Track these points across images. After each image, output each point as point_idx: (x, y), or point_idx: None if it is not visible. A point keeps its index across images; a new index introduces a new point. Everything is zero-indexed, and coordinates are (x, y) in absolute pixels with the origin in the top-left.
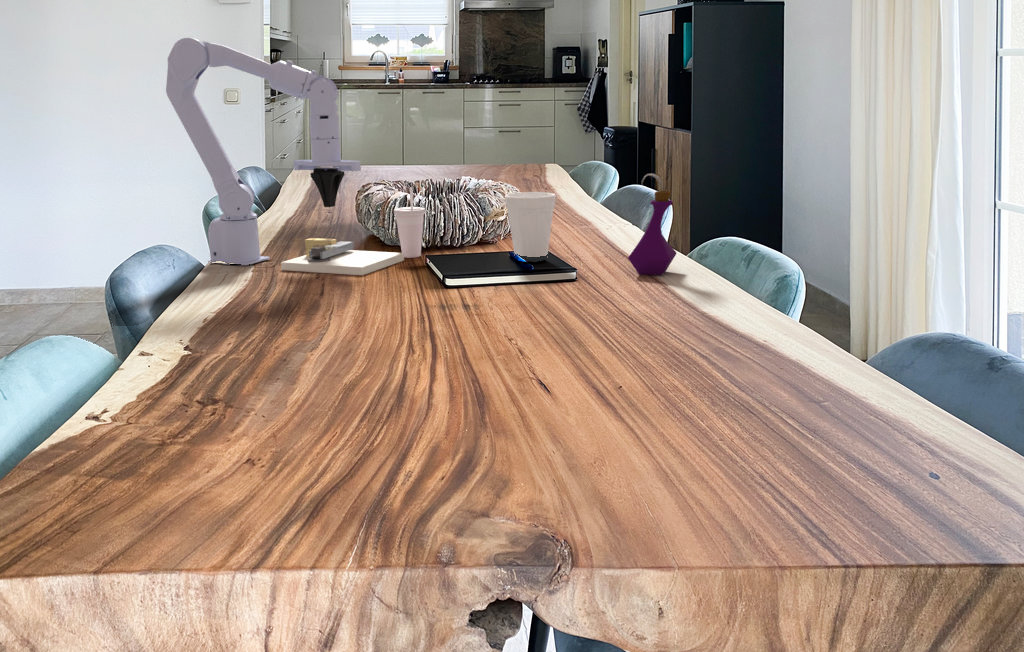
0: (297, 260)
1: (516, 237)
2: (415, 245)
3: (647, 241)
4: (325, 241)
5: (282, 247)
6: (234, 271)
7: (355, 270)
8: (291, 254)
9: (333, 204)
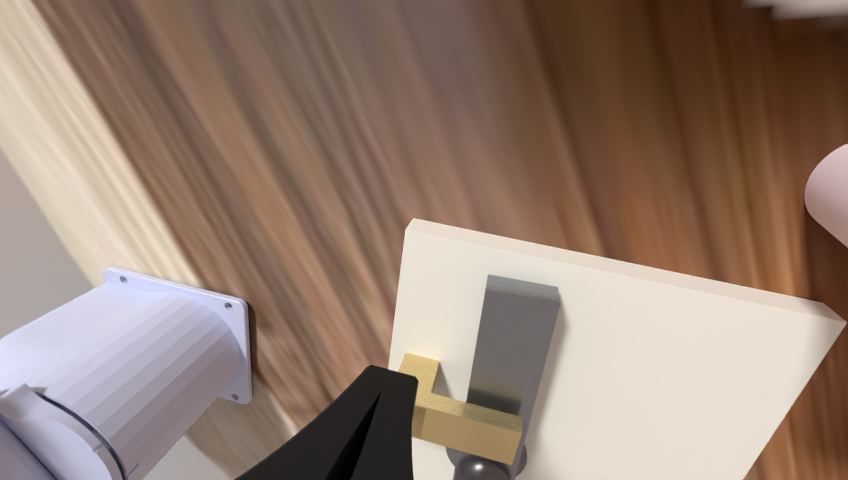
0: (412, 447)
1: None
2: None
3: None
4: (484, 455)
5: (108, 20)
6: (267, 452)
7: None
8: (252, 190)
9: (413, 407)
